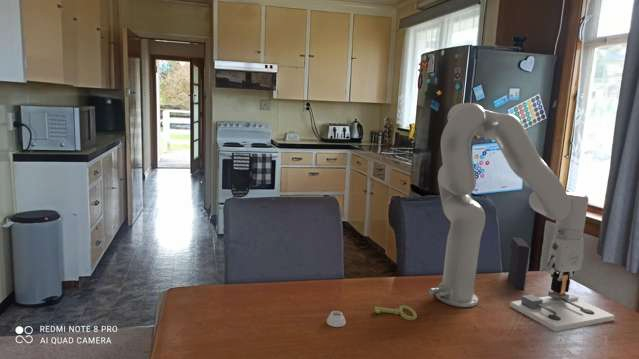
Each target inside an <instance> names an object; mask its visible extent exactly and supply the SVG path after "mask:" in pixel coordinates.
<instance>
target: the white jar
mask: <svg viewBox="0 0 639 359" xmlns="http://www.w3.org/2000/svg"><path fill="white" fill-rule="evenodd" d="M346 322H347V321H346V319H345V315H343V312H341V311H339V310H333V311H331V313H330V314H329V316H327V318H326V324H327V325H329V326H330V327H334V328H340V327H344V326H345V325H346Z"/></svg>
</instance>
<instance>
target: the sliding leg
mask: <svg viewBox="0 0 639 359" xmlns="http://www.w3.org/2000/svg"><path fill="white" fill-rule="evenodd" d="M567 280H568V275H567V274H564V273H563V274H562V279H561V281H563V283H562V289H561V293H557V292H555V291H553V290H549V291H548V295H547V296H550V297H552V298H554V299H556V300H558V301H565V302H567V303H569V304H571V305H573V306H575V307H578V308H580V311H582V312H583V310H584V308H583V307H581V306H579V305H577V304H575V303H572V302H570V301H568V300H569V295H570V294H569V293H567V292H566V285H567ZM568 294H569V295H568Z"/></svg>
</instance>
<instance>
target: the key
mask: <svg viewBox="0 0 639 359" xmlns="http://www.w3.org/2000/svg"><path fill="white" fill-rule="evenodd" d="M403 310H406V311H409V312H410V313H411V314H412V316H410V315H407V314H406V313H404V311H403ZM373 311H374V312H375V314H376V313H377V314H381V313H386V314H387V313H388V314H393V315H396V316H398V315H400V317H401V318H402V319H405V320H408V321H414V320H415V321H416V320H417V318H418V315H417V314H418V313H416V311H415V310H414V309H413V308H411V307H410V306H407V305H400V306H399V307H398V308H397V307H396V308H388V307H382V306H381V307H380V306H374V308H373Z"/></svg>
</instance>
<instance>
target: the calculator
mask: <svg viewBox="0 0 639 359" xmlns="http://www.w3.org/2000/svg"><path fill="white" fill-rule="evenodd" d="M510 249H511V254H510V260H509V270H508V273H507V274H508V275H507V276H508V280H509V281H510V283H511V285H512V286H513V288H514V289H516V290H524V289H526V287H527V286H526V285H527V280H528V272H529V265H530V255H531V247H530V246H529V244H528V243H527V242H526V241H525V239H523V238H522V237H521V238H520V237H511V241H510Z"/></svg>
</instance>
